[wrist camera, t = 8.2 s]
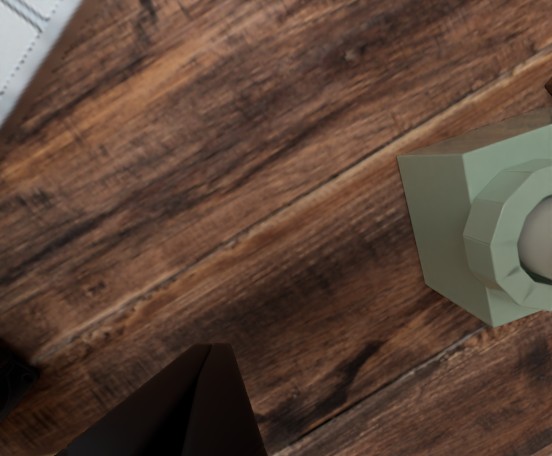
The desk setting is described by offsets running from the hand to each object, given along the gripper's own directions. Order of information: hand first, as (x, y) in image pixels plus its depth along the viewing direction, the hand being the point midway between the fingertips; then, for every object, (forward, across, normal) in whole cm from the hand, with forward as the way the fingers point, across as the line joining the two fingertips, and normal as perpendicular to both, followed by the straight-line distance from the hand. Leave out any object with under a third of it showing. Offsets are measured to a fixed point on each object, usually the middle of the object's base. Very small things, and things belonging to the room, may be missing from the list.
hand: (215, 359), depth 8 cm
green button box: (+15, -15, 0) cm, 21 cm away
